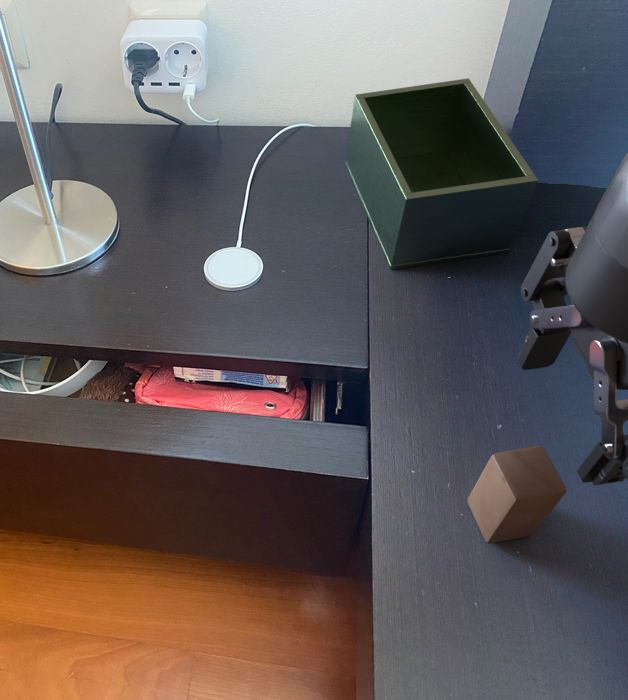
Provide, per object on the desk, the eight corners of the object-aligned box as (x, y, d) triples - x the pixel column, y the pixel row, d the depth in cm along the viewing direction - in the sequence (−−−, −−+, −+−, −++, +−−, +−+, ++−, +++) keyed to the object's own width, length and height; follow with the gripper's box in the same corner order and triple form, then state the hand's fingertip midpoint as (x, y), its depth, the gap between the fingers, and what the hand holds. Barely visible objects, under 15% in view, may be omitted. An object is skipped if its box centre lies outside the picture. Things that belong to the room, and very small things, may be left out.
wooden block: (485, 546, 57) (515, 500, 50) (464, 500, 59) (490, 452, 53) (534, 536, 57) (570, 490, 51) (511, 491, 59) (543, 442, 53)
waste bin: (508, 252, 75) (538, 180, 68) (389, 270, 75) (406, 199, 68) (449, 150, 86) (468, 77, 79) (345, 165, 86) (354, 94, 79)
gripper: (876, 335, 29) (682, 510, 42) (679, 127, 38) (569, 324, 51) (691, 362, 29) (554, 528, 42) (538, 148, 38) (463, 339, 51)
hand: (562, 416), depth 46 cm, fingers open, 8 cm apart
